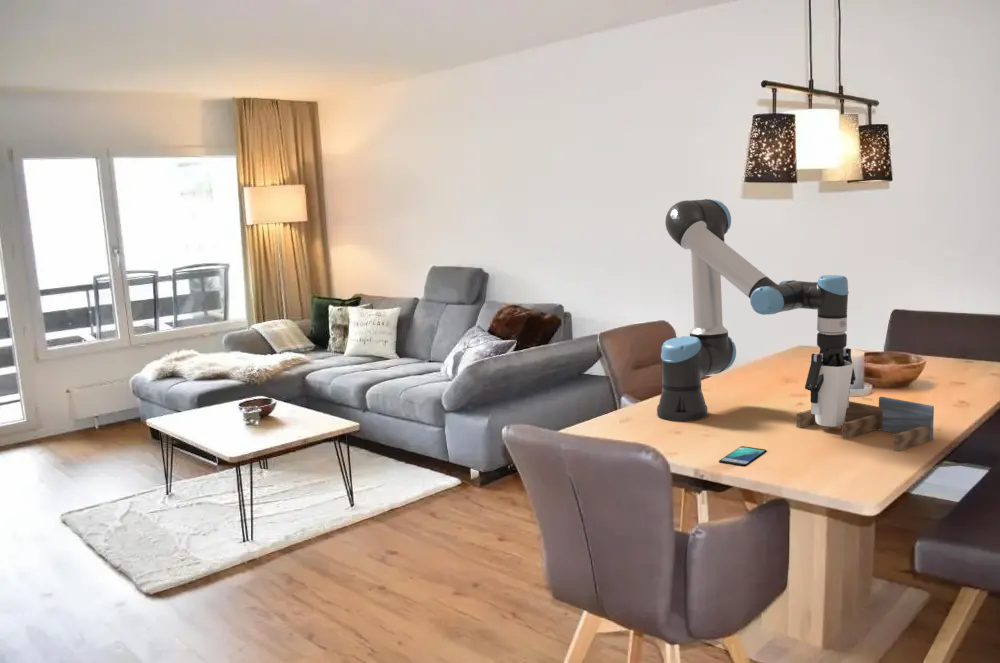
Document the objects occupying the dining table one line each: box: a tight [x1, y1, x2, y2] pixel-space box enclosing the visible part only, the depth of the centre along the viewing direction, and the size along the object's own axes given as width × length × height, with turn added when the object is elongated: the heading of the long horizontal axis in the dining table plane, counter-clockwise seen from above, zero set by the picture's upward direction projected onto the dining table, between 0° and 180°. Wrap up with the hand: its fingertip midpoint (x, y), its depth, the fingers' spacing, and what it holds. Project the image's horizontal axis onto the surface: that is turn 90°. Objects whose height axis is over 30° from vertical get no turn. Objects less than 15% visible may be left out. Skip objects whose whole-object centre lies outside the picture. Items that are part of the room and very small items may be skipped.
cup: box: [809, 360, 854, 428], centre depth 226 cm, size 11×10×17 cm
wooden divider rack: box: [795, 396, 935, 452], centre depth 222 cm, size 15×31×9 cm, turn 32°
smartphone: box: [718, 445, 767, 468], centre depth 208 cm, size 7×1×15 cm
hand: (829, 410), depth 227 cm, fingers closed on cup, 11 cm apart
